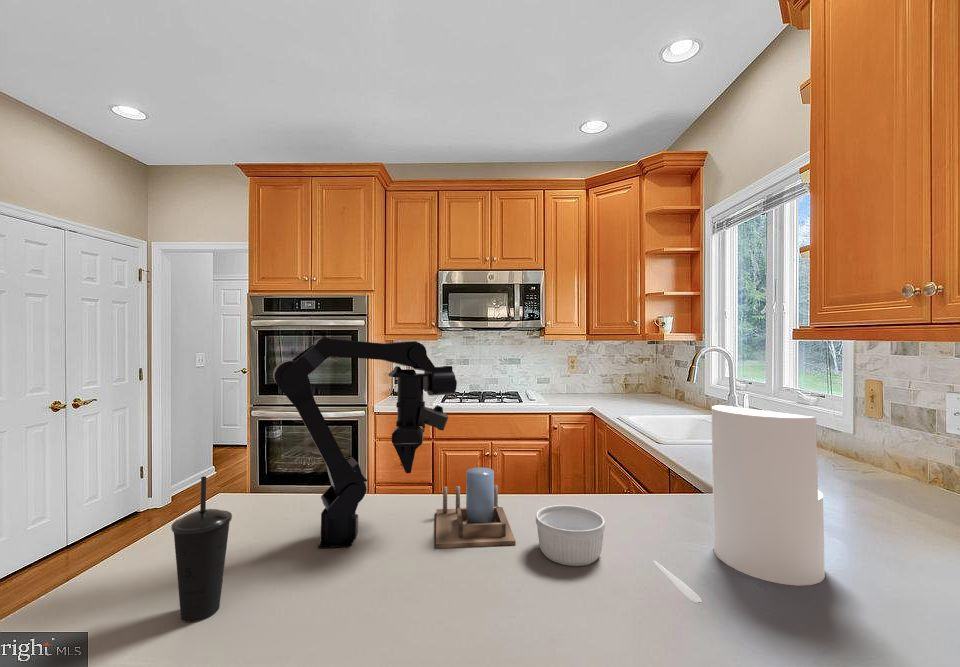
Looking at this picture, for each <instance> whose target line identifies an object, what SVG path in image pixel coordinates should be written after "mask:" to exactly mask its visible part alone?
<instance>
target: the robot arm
mask: <svg viewBox="0 0 960 667" xmlns="http://www.w3.org/2000/svg"><path fill="white" fill-rule="evenodd" d="M330 357H333V358H334V357H336V358H337V357H339V358H352V359H363V360H364V359H365V360H378V361H384V362H388V363H391V364H395V365H396V366H395V367H394V368H393V369H392V370H391V371H390V372H389V373H388V377H390V378H397V402H396V403H395V404H396V408H397V411H396V412H397V418H396V419H397V420H396V421H395V424H396V425H395V426H396V428H395V429H394V430H393V431H392V432H391V443H392V446H393V447H394V449H395V452H396V453H397V456H398V458H399V460H400V463H401V465H402V467H403V470H404V472H405V474H411V473H412V469H413V464H414V460H415V455H416V450H417V449H418V448H419V447H420V446H422V444H423V442H424V433H425V429H426V425H427V426H430V427H433V428H436V429H437V430H439V431H444V430H445V428H446V425H447V423H448V420H449V415H448V414H447V413H445V412H444V407H443V406H440V405H438V404H436V406H435V407H433V408H432V407H427V406H426V401H424V392H426V393H427V395H428V396H430V397H431V396H434V397H435V396H447V395H448V396H450V395H454V394H455V393H456V391H457V387H458V384H457V382H458V381H457V378H456V375H455V372H454V371H453V366H452V365H443V366H435V365H434V363H433V362H432V361H431V359H430V358H429V357H428V353H427V349H426V347H425V345H424V344H423V343H422V342H421V341H416V340H412V341H411V340H410V341H407V340H406V341H397V342H396V341H395V342H385V343H384V342H382V343H381V342H370V341H357V340H347V339H338V338H337V339H335V338H331V337H328V336H327V337H320V338H318V339H317V340H315V342H314V343H312V344H311V345H310V346H309V347H307V348H306V349H305V350H303V351H302V352H300V353H299V354H297V355H295V357H294V358H292V359H291V360H290V359H289V360H283V361H281V362H279V363H278V364H277V365H276V366H275V367H274V370H273V372H272V378H273V381H274V382H275V384H276V385H277V387H278V388H279V389H280V390H281V391H282V393H283V394H284V395H285V396H286V397H287V399H288V400H289V401H290V402H291V403H292V405H293V406H294V407H295V409H296V411H297V413H298V415H299V416H300V418H301V420H302V421H303V423H304V426H305V428H306V429H307V431H308V433H309V435H310V437H311V439H312V441H313V442H314V444H315V446H316V448H317V451H318V452H319V454H320V456H321V457H322V459H323V461H324V464H325V466H326V470H327V474H328V478H329V482H330V484H331V485H330V486H329V487H328V488H327V489H326V490H325V491H324V493H323V494H322V495H321V497H320V499H321V501H322V504H323V506H324V507H325V508H324V509H323V510H322V511H321V513H320V541H319V542H318V545H317V548H321V549H322V548H327V549H328V548H344V547H345V548H347V547H348V548H349V547H351V546H352V545H353V543H354V542H355V540H356V539H357V537H358V535H359V534H358V533H359V515H358V513H357V512H356V511H357V510H358V506H359V503H361V502H362V500H363V499H364V497H365V496H366V493H367V485H366V483H365V482H368V478H366V476H364V475H363V473H362V470H361V467H360V464H359V463H358V462H357V461H356V459H354V458H353V457H351V458H350V459H349V460H347V459H346V458H345V456H344V454H343V453H342V450H341V448H340V447H339V445H338V442H337V440H336V439H335V437H334V434H333V433H332V431H331V429H330V427H329V425H328V424H327V422H326V420H325V418H324V415H323V414H322V412H321V409H320V408H319V406H318V404H317V402H316V399H315V398H314V392H313V388H312V384H311V381H310V378H309V375H310V374H311V373H312V372H314V371H315V370H317V368H318V367H319V366H321V365H322V363H324V361H326V360H327V359H328V358H330ZM398 365H399V366H398ZM400 366H404V367H410V368H411V369H407V368H406V369H403V368H401V367H400ZM412 368H413V369H412ZM416 370H417V371H423V372H424V373H421V372H420V373H417V372H416Z"/></svg>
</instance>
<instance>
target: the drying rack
mask: <svg viewBox="0 0 960 667" xmlns="http://www.w3.org/2000/svg"><path fill="white" fill-rule="evenodd" d="M498 498H499V486H498V485H497V484H496V485H495V484H494V523H475V524H466V507H461V486H459V485H457V486H455V508H448V486H443V487H442V508H438V509H436V516H435V517H436V518H435V519H436V523H435V524H436V526H435V548H436V549H445V548H447V549H449V548H450V549H451V548H452V549H453V548H471V547H472V548H473V547H495V546H496V547H497V546H516V545H517V544H516V542H517V541H516V538H515V536H514V532H513V531H512V528H511V525H510V523H509V520H508V518H507V515H506V513H505V510H504V508H503V507H502V506H499V504H498V503H499V502H498V500H499V499H498Z"/></svg>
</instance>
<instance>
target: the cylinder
mask: <svg viewBox="0 0 960 667" xmlns="http://www.w3.org/2000/svg"><path fill="white" fill-rule="evenodd" d="M817 436H818V434H817V417H816V416H810V415H809V416H808V415H802V414H794V413H787V412H780V411H779V412H777V411H771V410H762V409H755V408H754V409H753V408H746V407H739V406H731V405H721V404H717V405H712V406H711V456H712V459H711V462H712V463H711V466H712V523H713V524H712V525H713V526H712V527H713V528H712V532H713V534H712V535H713V537H712V538H713V550H714V551H713V552H714V554H715V555H716V557H717V558H718V559H719V560H720V561H722V562H723V563H724V564H725V565H727V566H729V567H731V568H732V569H735V570H736V571H738V572H740V573H743V574H746V575H748V576H750V577H753V578H755V579H756V578H757V579H759V580H763V581H766V582H772V583H776V584H780V585H789V586H790V585H791V586H798V587H799V586H800V587H801V586H812V585H815V584H819V583H821V582H823V580H824V579H825V576H826V570H825V569H826V568H825V565H826V564H825V563H826V562H825V559H826V558H825V526H824V524H825V519H824V518H825V517H824V493H823V492H821V490H819V481H818V479H819V478H818V477H819V476H818V473H819V472H818V442H817V441H818V440H817V439H818V437H817Z"/></svg>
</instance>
